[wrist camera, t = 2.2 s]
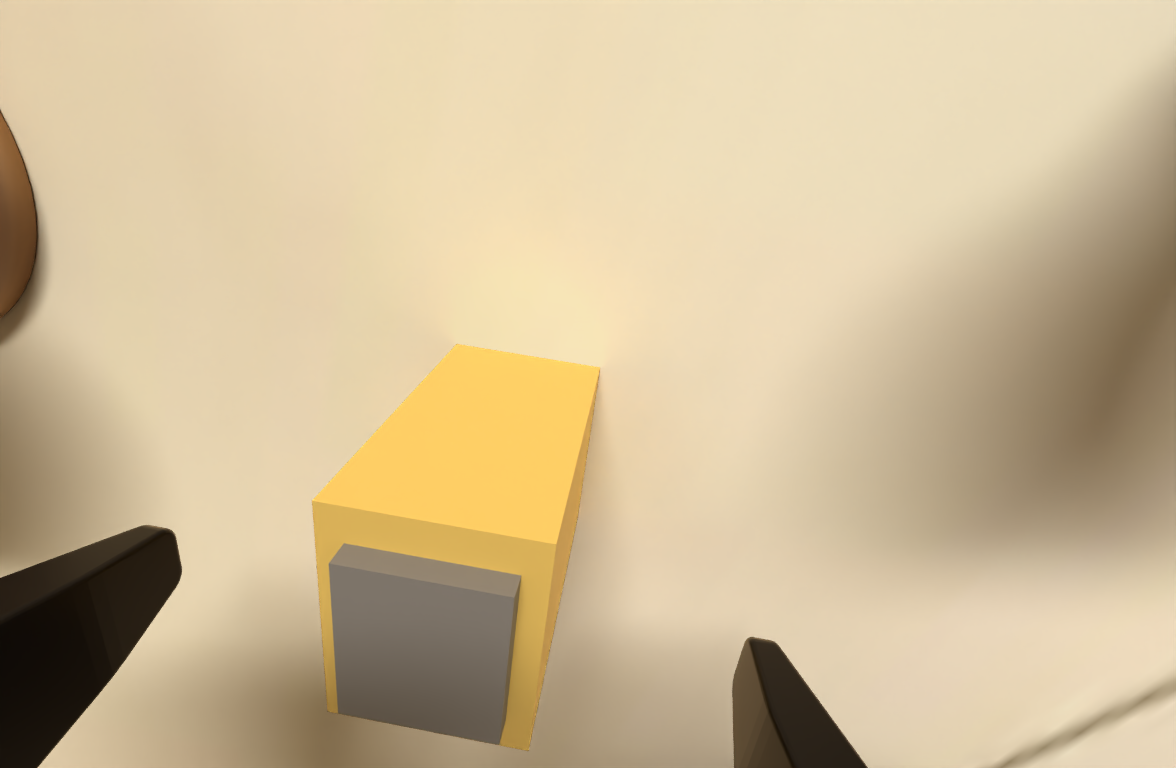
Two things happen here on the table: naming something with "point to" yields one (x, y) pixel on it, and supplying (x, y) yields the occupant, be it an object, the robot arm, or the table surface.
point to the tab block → (455, 547)
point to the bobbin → (14, 223)
